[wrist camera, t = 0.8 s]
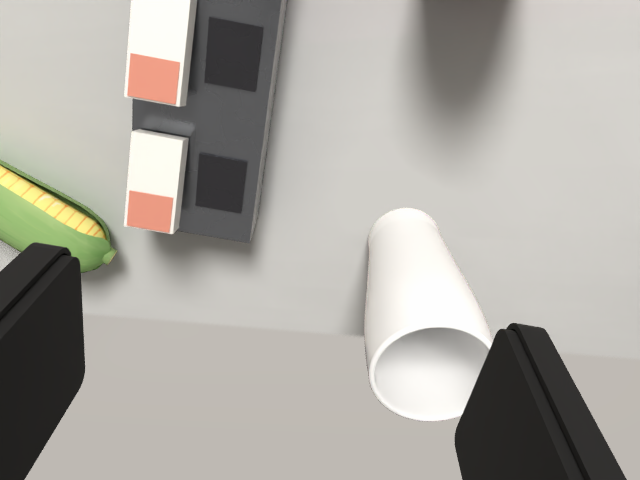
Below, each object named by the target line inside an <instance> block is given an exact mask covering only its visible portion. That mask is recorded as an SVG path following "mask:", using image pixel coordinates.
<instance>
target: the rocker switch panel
mask: <svg viewBox="0 0 640 480" xmlns="http://www.w3.org/2000/svg"><path fill="white" fill-rule="evenodd" d="M286 6H287V0H197V7H196V17H195V26H194V35H193V45H192V54H191V63H190V73H189V82H188V91H187V101H186V106H181V107H178V106H172V105H167V104H162V103H156V102H151V101H145V100H140V99H134V98H133V120H132V131H135V130H138V129H142V130H147V131H153V132H158V133H164V134H169V135H175V136H180V137H186V138H189V141H188V150H187V159H186V168H185V177H184V186H183V195H182V204H181V213H180V222H179V228H178V229H177V230H176V231H182V232H187V233H193V234H199V235H205V236H211V237H217V238H222V239H228V240H234V241H240V242H246V243H250V241H251V237H252V234H253V231H254V228H255V225H256V221H257V218H258V212H259V204H260V197H261V190H262V182H263V175H264V168H265V160H266V153H267V146H268V138H269V131H270V124H271V116H272V109H273V102H274V94H275V87H276V80H277V72H278V65H279V58H280V50H281V43H282V36H283V28H284V21H285V14H286Z"/></svg>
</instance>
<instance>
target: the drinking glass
mask: <svg viewBox="0 0 640 480" xmlns="http://www.w3.org/2000/svg"><path fill="white" fill-rule="evenodd" d="M368 248H369V263H368V278H367V292H366V304H365V321H364V337H365V352H366V361H367V368H368V375H369V382H370V386H371V389H372V391H373V393H374V395H375V396H376V398H377V399H378V400H379V402H380V403H382V404H383V405H384V406H385V407H386V408H387V409H389V410H390V411H392V412H394V413H395V414H397V415H400V416H402V417H405V418H408V419H412V420H417V421H427V422H432V421H444V420H449V419H453V418H456V417H459V416H462V414H463V411H464V409H465V407H466V404H467V402H468V400H469V397H470V395H471V392H472V390H473V388H474V385H475V383H476V381H477V378H478V376H479V374H480V371H481V369H482V366H483V364H484V362H485V359H486V357H487V355H488V352H489V350H490V347H491V345H492V343H493V338H492V334H491V331H490V329H489V326H488V323H487V321H486V318H485V316H484V314H483V311H482V309H481V307H480V305H479V303H478V301H477V299H476V297H475V295H474V293H473V291H472V290H471V288H470V286H469V284H468V283H467V281H466V279H465V277H464V276H463V274H462V272H461V270H460V269H459V267H458V265H457V263H456V261H455V260H454V258H453V256H452V254H451V253H450V251H449V249H448V247H447V245H446V244H445V242H444V240H443V238H442V235H441V233H440V230H439V228H438V226H437V224H436V222H435V221H434V220H433V219H432V218H431V217H430V216H429V215H428V214H426V213H424V212H423V211H420V210H417V209H413V208H398V209H394V210H391V211H389V212H387V213H385V214H384V215H382V216H381V217H380V218H379V219H378V220H377V221H376V222H375V223H374V225H373V227H372V228H371V231H370V234H369V238H368Z"/></svg>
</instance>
